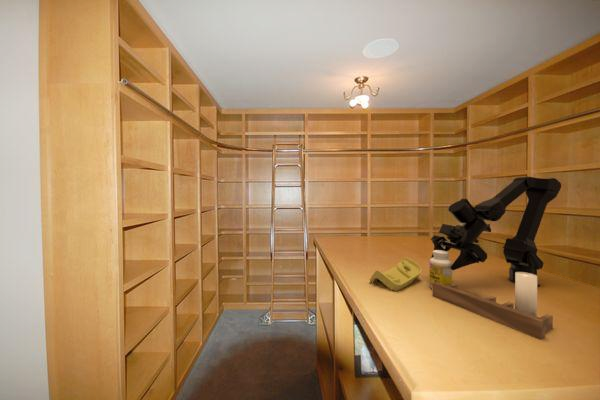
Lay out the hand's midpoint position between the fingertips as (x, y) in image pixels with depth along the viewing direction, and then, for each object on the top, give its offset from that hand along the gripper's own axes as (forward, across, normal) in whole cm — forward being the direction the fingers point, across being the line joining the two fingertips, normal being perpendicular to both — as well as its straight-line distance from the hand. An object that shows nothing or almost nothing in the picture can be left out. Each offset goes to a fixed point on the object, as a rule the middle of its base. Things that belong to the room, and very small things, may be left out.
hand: (440, 265), depth 80 cm
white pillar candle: (+2, +22, +10) cm, 24 cm away
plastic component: (+14, -8, -1) cm, 16 cm away
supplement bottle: (+6, 0, +6) cm, 8 cm away
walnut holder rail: (+5, +15, +6) cm, 18 cm away
